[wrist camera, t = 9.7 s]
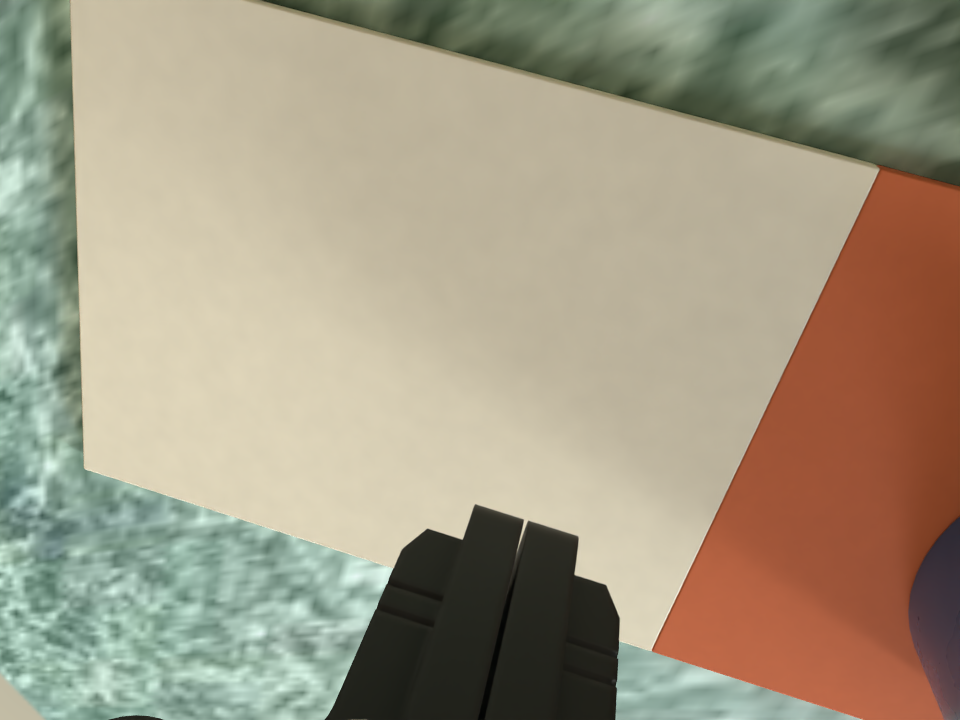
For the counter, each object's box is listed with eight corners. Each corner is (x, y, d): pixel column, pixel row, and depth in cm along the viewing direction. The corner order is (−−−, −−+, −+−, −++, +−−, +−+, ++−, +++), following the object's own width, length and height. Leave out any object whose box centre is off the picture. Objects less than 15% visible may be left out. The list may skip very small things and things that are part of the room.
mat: (81, -48, 14) (67, -49, 14) (1550, 342, 12) (1576, 353, 12) (93, 460, 20) (83, 469, 19) (1104, 784, 18) (1113, 801, 18)
